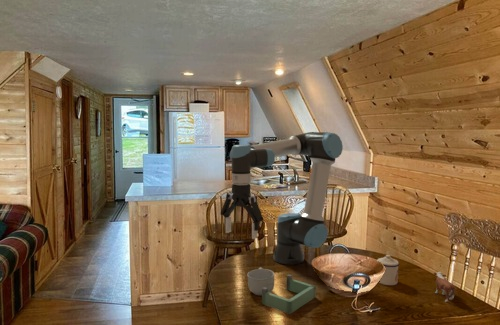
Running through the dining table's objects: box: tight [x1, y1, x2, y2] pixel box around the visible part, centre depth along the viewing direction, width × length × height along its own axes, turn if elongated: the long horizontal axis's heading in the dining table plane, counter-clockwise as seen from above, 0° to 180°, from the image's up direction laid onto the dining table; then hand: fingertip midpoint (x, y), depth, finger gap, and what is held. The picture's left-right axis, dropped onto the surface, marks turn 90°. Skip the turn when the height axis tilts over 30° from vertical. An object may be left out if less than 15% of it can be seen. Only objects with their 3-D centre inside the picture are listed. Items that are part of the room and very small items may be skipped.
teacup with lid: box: [376, 254, 400, 286], centre depth 168 cm, size 12×9×12 cm
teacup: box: [246, 267, 275, 297], centre depth 156 cm, size 14×11×8 cm
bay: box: [261, 274, 316, 315], centre depth 148 cm, size 18×12×6 cm
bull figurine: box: [433, 271, 456, 303], centre depth 153 cm, size 4×13×8 cm, turn 176°
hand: (241, 235), depth 157 cm, fingers open, 13 cm apart
